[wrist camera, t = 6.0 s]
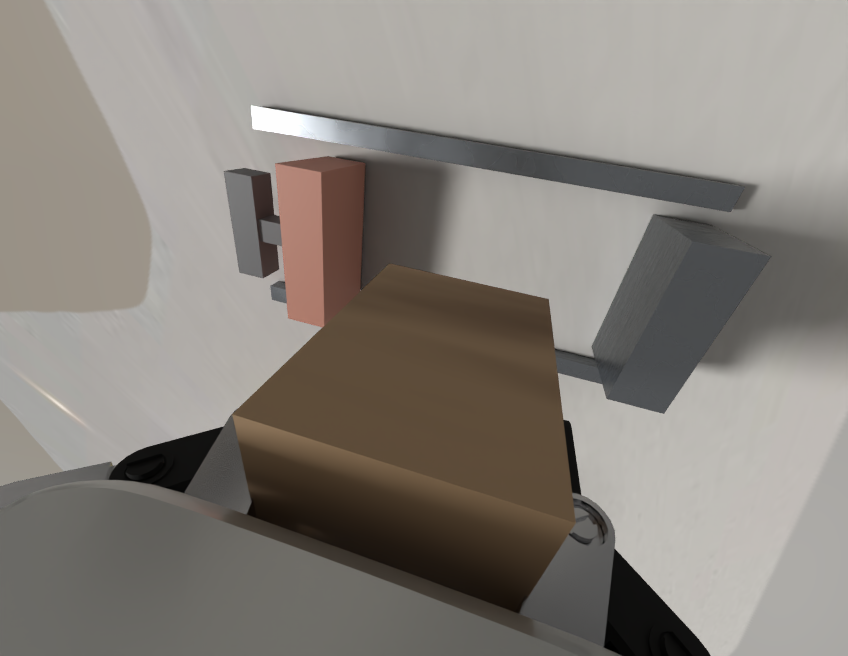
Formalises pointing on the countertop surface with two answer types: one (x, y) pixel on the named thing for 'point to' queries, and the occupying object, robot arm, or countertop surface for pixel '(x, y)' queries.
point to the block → (421, 435)
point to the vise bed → (646, 276)
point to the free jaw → (302, 231)
